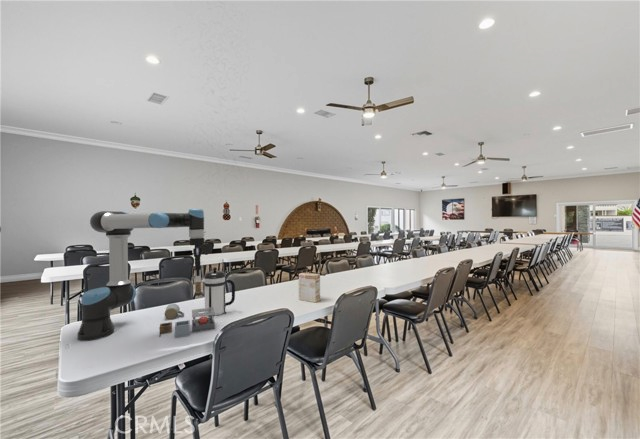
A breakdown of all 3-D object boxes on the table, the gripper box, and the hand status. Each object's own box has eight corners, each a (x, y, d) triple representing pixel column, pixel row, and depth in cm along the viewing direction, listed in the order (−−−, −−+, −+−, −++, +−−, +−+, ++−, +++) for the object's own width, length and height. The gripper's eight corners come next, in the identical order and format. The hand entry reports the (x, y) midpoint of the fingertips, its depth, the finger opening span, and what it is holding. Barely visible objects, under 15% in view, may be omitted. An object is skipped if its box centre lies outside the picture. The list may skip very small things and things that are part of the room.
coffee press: (221, 320, 170) (220, 269, 170) (197, 318, 173) (196, 269, 173) (235, 311, 187) (235, 265, 187) (213, 309, 190) (212, 264, 190)
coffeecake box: (320, 300, 210) (320, 273, 210) (315, 303, 204) (315, 275, 204) (303, 297, 218) (303, 272, 218) (298, 300, 212) (298, 273, 212)
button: (199, 328, 153) (199, 319, 153) (199, 326, 156) (199, 317, 157) (207, 327, 155) (207, 318, 155) (207, 325, 158) (206, 316, 158)
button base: (192, 335, 148) (192, 315, 148) (192, 328, 158) (191, 309, 158) (214, 331, 153) (214, 312, 153) (213, 324, 163) (213, 307, 163)
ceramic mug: (163, 320, 170) (164, 307, 170) (165, 316, 178) (166, 304, 178) (183, 318, 174) (183, 306, 174) (184, 314, 182) (184, 302, 182)
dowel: (195, 296, 153) (194, 258, 153) (195, 294, 155) (194, 257, 155) (201, 295, 154) (200, 258, 154) (201, 294, 156) (200, 257, 156)
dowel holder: (159, 336, 146) (159, 327, 146) (160, 333, 151) (160, 323, 151) (171, 335, 149) (171, 325, 149) (172, 331, 153) (171, 322, 153)
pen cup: (175, 340, 142) (174, 326, 142) (175, 335, 148) (175, 322, 148) (189, 338, 144) (189, 324, 144) (189, 333, 150) (189, 320, 150)
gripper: (204, 237, 149) (206, 283, 149) (204, 236, 163) (205, 278, 163) (189, 238, 146) (190, 284, 146) (189, 237, 160) (190, 279, 160)
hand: (198, 281), depth 154 cm, fingers closed on dowel, 3 cm apart
